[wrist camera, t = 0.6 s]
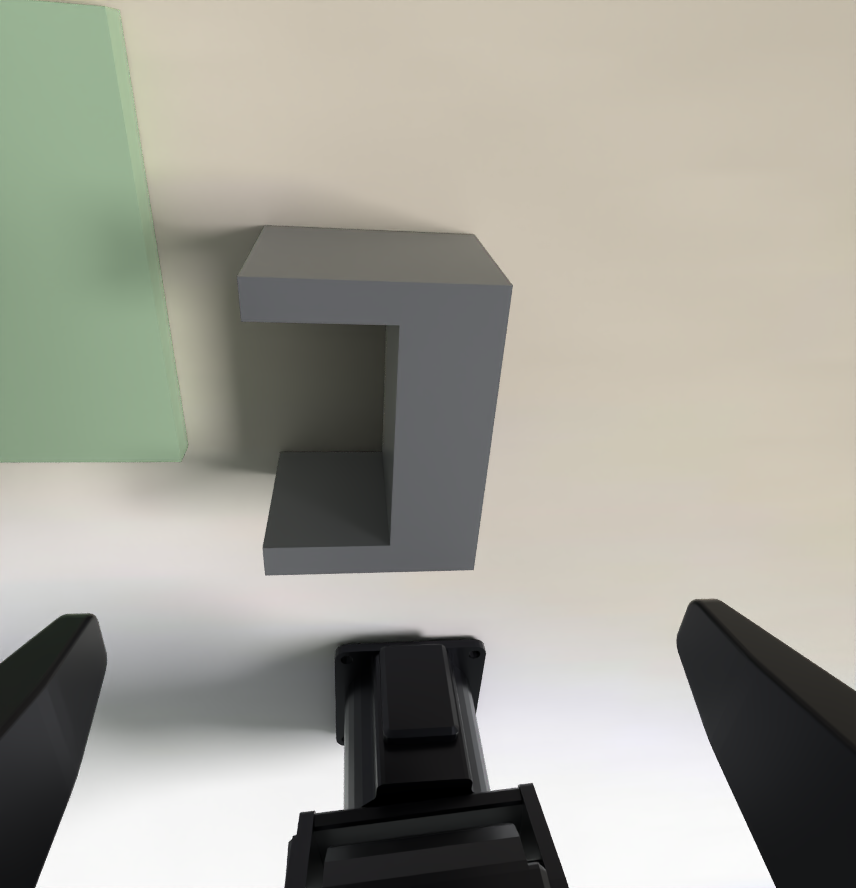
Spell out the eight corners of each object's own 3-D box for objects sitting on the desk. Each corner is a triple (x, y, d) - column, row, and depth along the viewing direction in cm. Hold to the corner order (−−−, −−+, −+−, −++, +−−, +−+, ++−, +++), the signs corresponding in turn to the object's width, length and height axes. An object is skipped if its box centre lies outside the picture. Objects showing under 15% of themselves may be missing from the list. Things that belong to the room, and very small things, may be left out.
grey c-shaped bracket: (474, 234, 18) (512, 285, 14) (450, 475, 22) (473, 570, 18) (264, 225, 17) (236, 275, 13) (281, 475, 22) (265, 575, 17)
